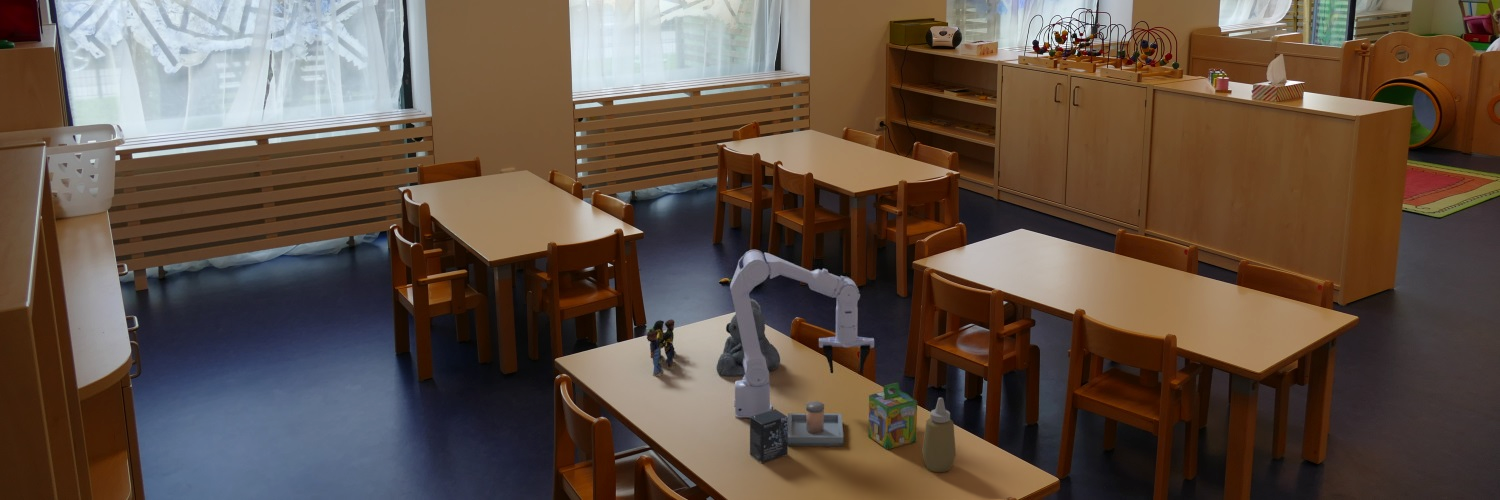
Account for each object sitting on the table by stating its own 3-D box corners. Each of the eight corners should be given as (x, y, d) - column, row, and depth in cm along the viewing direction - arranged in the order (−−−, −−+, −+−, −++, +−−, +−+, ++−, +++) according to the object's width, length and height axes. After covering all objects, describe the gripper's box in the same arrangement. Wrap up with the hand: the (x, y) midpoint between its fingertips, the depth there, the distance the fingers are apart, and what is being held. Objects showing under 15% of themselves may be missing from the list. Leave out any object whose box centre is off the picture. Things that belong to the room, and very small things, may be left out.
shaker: (805, 433, 299) (805, 408, 297) (806, 426, 303) (806, 401, 301) (823, 434, 299) (824, 409, 297) (823, 426, 303) (824, 401, 301)
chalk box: (887, 450, 291) (888, 395, 287) (866, 436, 299) (867, 382, 295) (917, 442, 295) (919, 388, 291) (896, 428, 303) (898, 375, 299)
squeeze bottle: (918, 460, 286) (920, 392, 281) (950, 458, 287) (953, 390, 281) (925, 476, 278) (927, 406, 273) (959, 474, 279) (961, 404, 274)
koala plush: (724, 354, 353) (723, 293, 348) (783, 357, 351) (783, 295, 345) (714, 377, 337) (713, 313, 331) (777, 380, 334) (776, 315, 329)
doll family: (679, 378, 336) (678, 335, 332) (648, 380, 335) (646, 337, 332) (675, 349, 358) (674, 308, 354) (646, 350, 357) (644, 309, 353)
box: (762, 463, 286) (761, 424, 283) (749, 455, 290) (748, 416, 287) (788, 455, 290) (788, 416, 287) (775, 446, 294) (775, 408, 291)
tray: (787, 445, 295) (787, 437, 294) (788, 421, 308) (787, 413, 307) (843, 446, 294) (843, 437, 293) (841, 421, 307) (841, 413, 307)
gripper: (819, 329, 305) (819, 377, 309) (875, 329, 305) (874, 377, 309) (818, 319, 312) (818, 367, 316) (873, 319, 311) (872, 367, 315)
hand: (846, 371), depth 313 cm, fingers open, 7 cm apart
